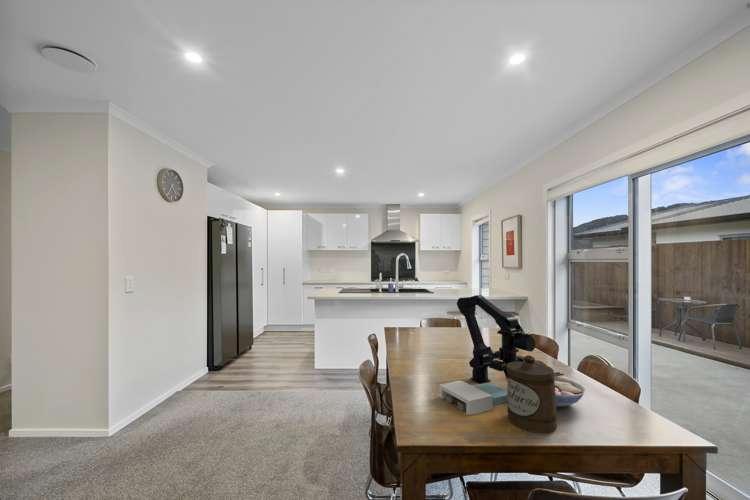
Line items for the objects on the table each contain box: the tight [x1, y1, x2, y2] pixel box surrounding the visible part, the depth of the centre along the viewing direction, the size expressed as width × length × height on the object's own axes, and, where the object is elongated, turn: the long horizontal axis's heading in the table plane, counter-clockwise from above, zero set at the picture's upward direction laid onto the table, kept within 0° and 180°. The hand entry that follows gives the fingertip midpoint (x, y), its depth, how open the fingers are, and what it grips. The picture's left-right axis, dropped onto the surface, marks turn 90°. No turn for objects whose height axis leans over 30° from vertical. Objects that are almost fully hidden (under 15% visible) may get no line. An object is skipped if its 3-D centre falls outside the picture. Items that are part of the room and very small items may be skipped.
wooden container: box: [506, 354, 558, 434], centre depth 105 cm, size 15×15×22 cm
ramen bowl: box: [554, 371, 587, 408], centre depth 120 cm, size 25×23×8 cm
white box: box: [438, 380, 494, 416], centre depth 119 cm, size 11×17×5 cm, turn 25°
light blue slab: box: [474, 382, 507, 405], centre depth 126 cm, size 10×12×2 cm
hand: (509, 383), depth 130 cm, fingers closed
